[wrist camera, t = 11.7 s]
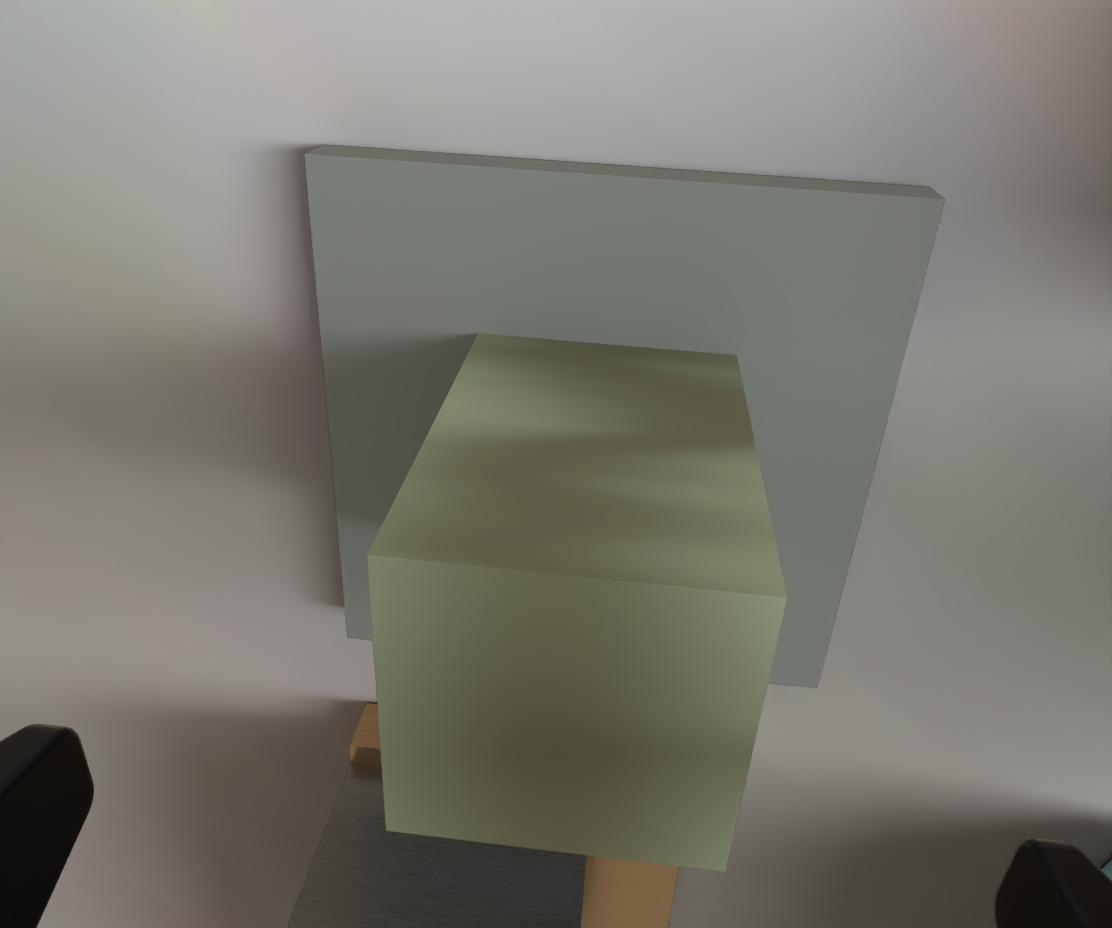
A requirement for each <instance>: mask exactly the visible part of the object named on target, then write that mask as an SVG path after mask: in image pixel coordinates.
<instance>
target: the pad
mask: <svg viewBox="0 0 1112 928" xmlns="http://www.w3.org/2000/svg"><path fill="white" fill-rule="evenodd" d="M304 158H305V169H306V181H307V192H308V203H309V214H310V226H311V237H312V248H313V259H314V271H315V282H316V293H317V304H318V316H319V327H320V338H321V349H322V361H323V372H324V383H325V394H326V406H327V417H328V428H329V439H330V451H331V462H332V473H333V484H334V496H335V507H336V518H337V529H338V541H339V552H340V563H341V574H342V586H343V597H344V608H345V619H346V631H347V638H353V639H362V640H371V641H373V632H372V618H371V603H370V589H369V574H368V559H367V554H368V552H369V550H370V548H371V546H372V544H373V542H374V540H375V538H376V536H377V534H378V532H379V530H380V528H381V526H382V524H383V522H384V520H385V518H386V516H387V514H388V512H389V510H390V508H391V506H392V504H393V502H394V500H395V498H396V496H397V494H398V492H399V490H400V488H401V486H402V484H403V482H404V480H405V478H406V476H407V474H408V472H409V470H410V468H411V466H412V464H413V462H414V460H415V458H416V456H417V454H418V452H419V450H420V449H421V447H422V445H423V443H424V441H425V439H426V437H427V435H428V433H429V431H430V429H431V427H432V425H433V423H434V421H435V419H436V417H437V415H438V413H439V411H440V409H441V407H442V405H443V403H444V401H445V399H446V397H447V395H448V393H449V391H450V389H451V387H452V385H453V383H454V381H455V379H456V377H457V375H458V373H459V371H460V369H461V367H462V365H463V363H464V361H465V359H466V357H467V355H468V353H469V351H470V349H471V347H472V345H473V343H474V341H475V339H476V337H477V335H478V333H481V334H493V335H505V336H517V337H529V338H541V339H552V340H564V341H576V342H588V343H600V344H612V345H623V346H635V347H647V348H659V349H671V350H682V351H694V352H706V353H718V354H730V355H737V358H738V363H739V367H740V372H741V377H742V382H743V387H744V392H745V396H746V401H747V406H748V411H749V416H750V421H751V425H752V430H753V435H754V440H755V445H756V450H757V454H758V459H759V464H760V469H761V474H762V478H763V483H764V488H765V493H766V498H767V503H768V507H769V512H770V517H771V522H772V527H773V532H774V536H775V541H776V546H777V551H778V556H779V561H780V565H781V570H782V575H783V580H784V585H785V589H786V594H787V600H786V605H785V609H784V614H783V618H782V622H781V627H780V631H779V636H778V640H777V645H776V649H775V653H774V658H773V662H772V667H771V671H770V676H769V680H768V683H773V684H782V685H791V686H801V687H810V688H817V686H818V682H819V678H820V675H821V671H822V667H823V663H824V659H825V655H826V652H827V648H828V644H829V640H830V636H831V633H832V629H833V625H834V621H835V617H836V614H837V610H838V606H839V602H840V598H841V594H842V591H843V587H844V583H845V579H846V575H847V572H848V568H849V564H850V560H851V556H852V552H853V549H854V545H855V541H856V537H857V533H858V530H859V526H860V522H861V518H862V514H863V510H864V507H865V503H866V499H867V495H868V491H869V488H870V484H871V480H872V476H873V472H874V468H875V465H876V461H877V457H878V453H879V449H880V446H881V442H882V438H883V434H884V430H885V426H886V423H887V419H888V415H889V411H890V407H891V404H892V400H893V396H894V392H895V388H896V384H897V381H898V377H899V373H900V369H901V365H902V362H903V358H904V354H905V350H906V346H907V342H908V339H909V335H910V331H911V327H912V323H913V320H914V316H915V312H916V308H917V304H918V300H919V297H920V293H921V289H922V285H923V281H924V278H925V274H926V270H927V266H928V262H929V258H930V255H931V251H932V247H933V243H934V239H935V236H936V232H937V228H938V224H939V220H940V216H941V213H942V209H943V205H944V201H945V199H944V198H943V197H941V196H940V195H939V194H938V193H936V192H935V191H934V190H932V189H931V188H930V187H922V186H908V185H894V184H879V183H865V182H851V181H836V180H822V179H808V178H794V177H779V176H765V175H751V174H736V173H722V172H708V171H694V170H679V169H665V168H651V167H636V166H622V165H608V164H594V163H579V162H565V161H551V160H536V159H522V158H508V157H494V156H479V155H465V154H451V153H436V152H422V151H408V150H394V149H379V148H365V147H351V146H336V145H321V146H319V147H317V148H315V149H313V150H311V151H309V152H307V153H305V154H304Z"/></svg>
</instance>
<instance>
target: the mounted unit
mask: <svg viewBox="0 0 1112 928" xmlns="http://www.w3.org/2000/svg"><path fill="white" fill-rule="evenodd" d="M350 756H351V764H350V767H349V769H348V772H347V774H346V777H345V780H344V782H343V785H342V787H341V790H340V792H339V795H338V798H337V800H336V803H335V805H334V808H333V810H332V813H331V815H330V818H329V821H328V823H327V826H326V828H325V831H324V833H323V836H322V839H321V841H320V844H319V846H318V849H317V851H316V854H315V857H314V859H313V862H312V864H311V867H310V869H309V872H308V874H307V877H306V880H305V882H304V885H303V887H302V890H301V892H300V895H299V898H298V900H297V903H296V905H295V908H294V910H293V913H292V915H291V918H290V921H289V923H288V926H287V928H668V924H669V918H670V913H671V907H672V902H673V896H674V891H675V885H676V880H677V874H678V869H679V866H672V865H664V864H655V863H647V862H639V861H631V860H623V859H614V858H606V857H598V856H590V855H582V854H574V853H565V852H557V851H549V850H541V849H533V848H524V847H516V846H508V845H500V844H492V843H484V842H475V841H467V840H459V839H451V838H443V837H434V836H426V835H418V834H410V833H402V832H394V831H386V822H385V807H384V793H383V778H382V764H381V749H380V734H379V720H378V705H377V704H372V703H366V705H365V708H364V710H363V713H362V715H361V718H360V720H359V723H358V725H357V728H356V730H355V733H354V735H353V738H352V740H351V743H350Z"/></svg>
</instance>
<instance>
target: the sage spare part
mask: <svg viewBox="0 0 1112 928" xmlns="http://www.w3.org/2000/svg"><path fill="white" fill-rule="evenodd" d="M367 559H368V574H369V589H370V603H371V618H372V632H373V647H374V662H375V676H376V691H377V705H378V720H379V734H380V749H381V764H382V778H383V793H384V807H385V822H386V831H394V832H402V833H410V834H418V835H426V836H434V837H443V838H451V839H459V840H467V841H475V842H484V843H492V844H500V845H508V846H516V847H524V848H533V849H541V850H549V851H557V852H565V853H574V854H582V855H590V856H598V857H606V858H614V859H623V860H631V861H639V862H647V863H655V864H664V865H672V866H680V867H688V868H696V869H704V870H713V871H721V872H725V870H726V866H727V861H728V857H729V853H730V848H731V844H732V839H733V835H734V830H735V826H736V822H737V817H738V813H739V808H740V804H741V799H742V795H743V791H744V786H745V782H746V777H747V773H748V769H749V764H750V760H751V755H752V751H753V746H754V742H755V738H756V733H757V729H758V724H759V720H760V715H761V711H762V707H763V702H764V698H765V693H766V689H767V684H768V680H769V676H770V671H771V667H772V662H773V658H774V653H775V649H776V645H777V640H778V636H779V631H780V627H781V622H782V618H783V614H784V609H785V605H786V600H787V594H786V589H785V585H784V580H783V575H782V570H781V565H780V561H779V556H778V551H777V546H776V541H775V536H774V532H773V527H772V522H771V517H770V512H769V507H768V503H767V498H766V493H765V488H764V483H763V478H762V474H761V469H760V464H759V459H758V454H757V450H756V445H755V440H754V435H753V430H752V425H751V421H750V416H749V411H748V406H747V401H746V396H745V392H744V387H743V382H742V377H741V372H740V367H739V363H738V358H737V355H730V354H718V353H706V352H694V351H682V350H671V349H659V348H647V347H635V346H623V345H612V344H600V343H588V342H576V341H564V340H552V339H541V338H529V337H517V336H505V335H493V334H481V333H478V335H477V337H476V339H475V341H474V343H473V345H472V347H471V349H470V351H469V353H468V355H467V357H466V359H465V361H464V363H463V365H462V367H461V369H460V371H459V373H458V375H457V377H456V379H455V381H454V383H453V385H452V387H451V389H450V391H449V393H448V395H447V397H446V399H445V401H444V403H443V405H442V407H441V409H440V411H439V413H438V415H437V417H436V419H435V421H434V423H433V425H432V427H431V429H430V431H429V433H428V435H427V437H426V439H425V441H424V443H423V445H422V447H421V449H420V450H419V452H418V454H417V456H416V458H415V460H414V462H413V464H412V466H411V468H410V470H409V472H408V474H407V476H406V478H405V480H404V482H403V484H402V486H401V488H400V490H399V492H398V494H397V496H396V498H395V500H394V502H393V504H392V506H391V508H390V510H389V512H388V514H387V516H386V518H385V520H384V522H383V524H382V526H381V528H380V530H379V532H378V534H377V536H376V538H375V540H374V542H373V544H372V546H371V548H370V550H369V552H368V554H367Z"/></svg>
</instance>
